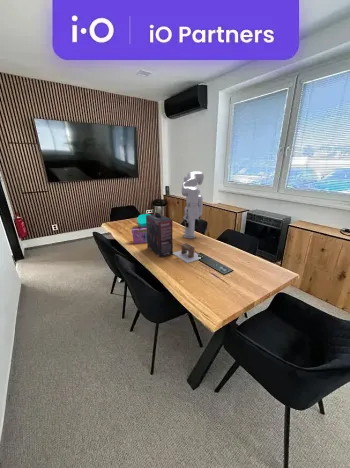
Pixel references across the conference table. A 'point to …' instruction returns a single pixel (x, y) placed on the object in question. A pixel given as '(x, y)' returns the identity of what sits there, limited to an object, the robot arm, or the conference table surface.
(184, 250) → the walnut stool
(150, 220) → the headset box
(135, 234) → the gum box
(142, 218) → the table top decor
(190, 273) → the conference table surface
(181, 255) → the grey pad
